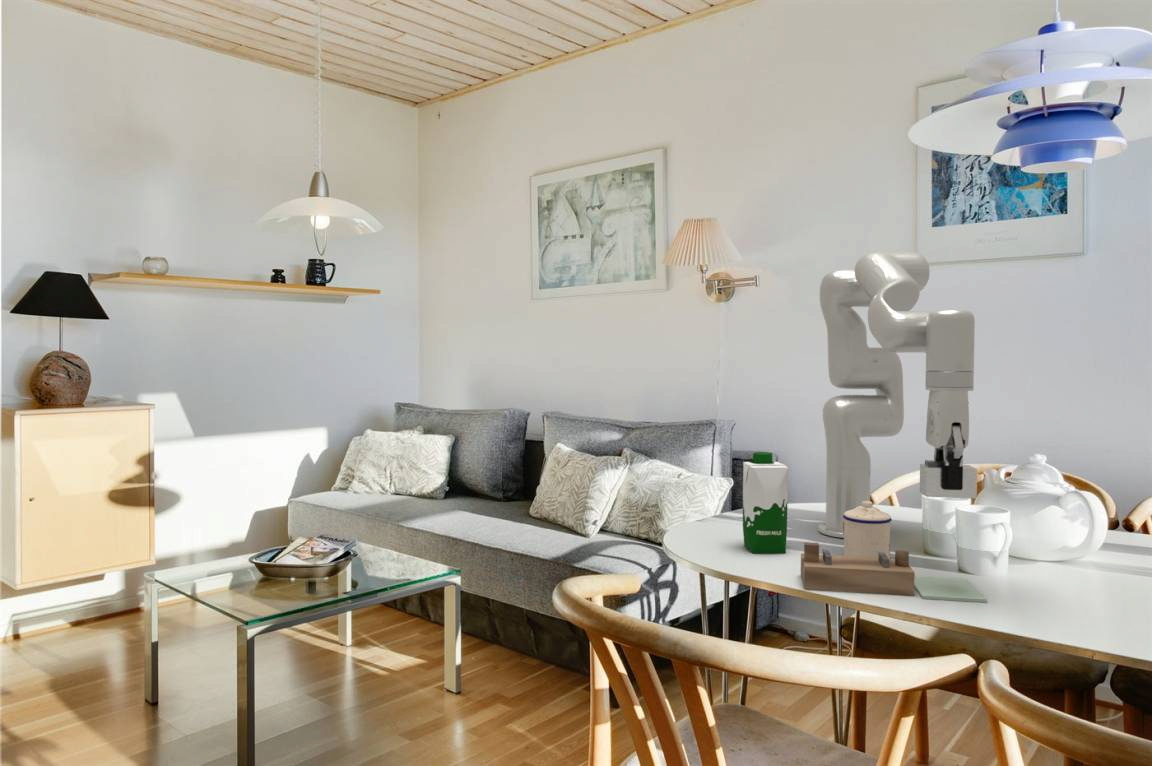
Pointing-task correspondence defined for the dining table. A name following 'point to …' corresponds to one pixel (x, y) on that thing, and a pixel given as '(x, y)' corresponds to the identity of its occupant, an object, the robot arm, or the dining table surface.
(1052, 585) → the dining table surface
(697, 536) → the dining table surface
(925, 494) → the lever cap
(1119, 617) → the dining table surface
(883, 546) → the teacup with lid
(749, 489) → the milk carton
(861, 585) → the plane body
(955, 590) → the mat
